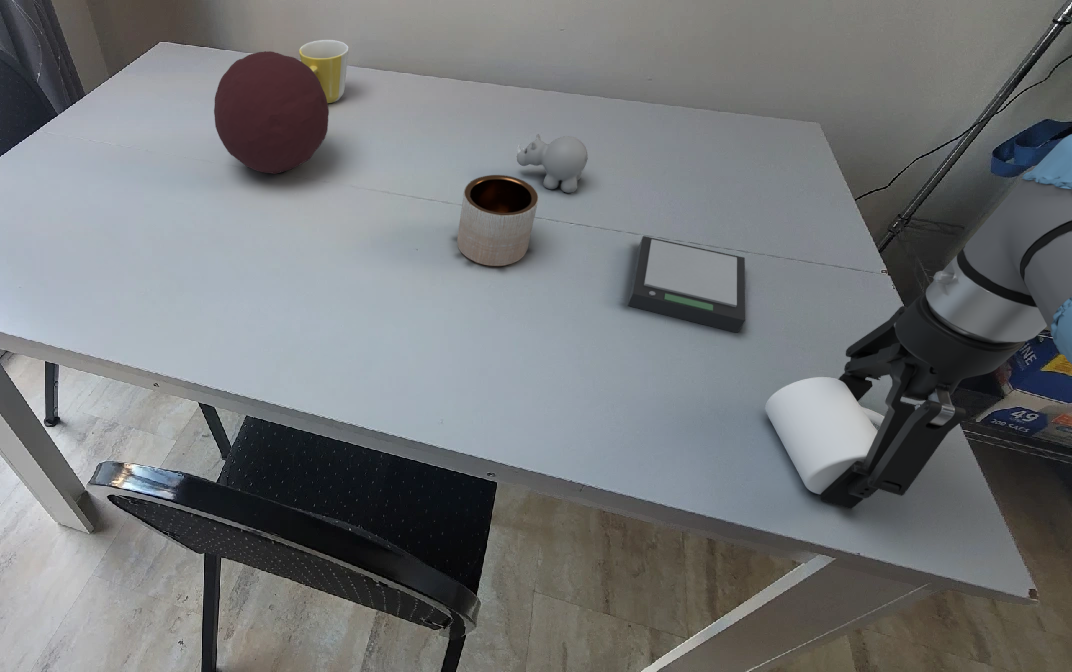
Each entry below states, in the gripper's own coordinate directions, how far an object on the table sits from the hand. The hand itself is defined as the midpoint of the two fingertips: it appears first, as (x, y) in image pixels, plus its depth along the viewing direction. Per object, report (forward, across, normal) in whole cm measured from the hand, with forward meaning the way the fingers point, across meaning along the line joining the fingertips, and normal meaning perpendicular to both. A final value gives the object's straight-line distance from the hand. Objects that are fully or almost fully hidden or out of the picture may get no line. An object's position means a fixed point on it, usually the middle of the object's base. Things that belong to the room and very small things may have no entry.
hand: (829, 456), depth 66 cm
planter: (+1, -23, -44) cm, 50 cm away
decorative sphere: (0, -32, -87) cm, 93 cm away
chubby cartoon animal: (+1, -45, -40) cm, 60 cm away
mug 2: (+1, 0, 0) cm, 1 cm away
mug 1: (0, -59, -91) cm, 109 cm away
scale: (0, -24, -16) cm, 29 cm away
